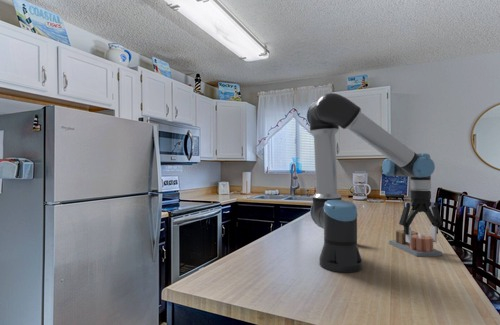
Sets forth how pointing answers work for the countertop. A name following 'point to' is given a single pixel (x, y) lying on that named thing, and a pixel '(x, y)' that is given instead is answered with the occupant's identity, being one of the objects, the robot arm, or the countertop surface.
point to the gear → (421, 243)
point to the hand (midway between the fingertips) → (421, 242)
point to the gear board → (404, 245)
